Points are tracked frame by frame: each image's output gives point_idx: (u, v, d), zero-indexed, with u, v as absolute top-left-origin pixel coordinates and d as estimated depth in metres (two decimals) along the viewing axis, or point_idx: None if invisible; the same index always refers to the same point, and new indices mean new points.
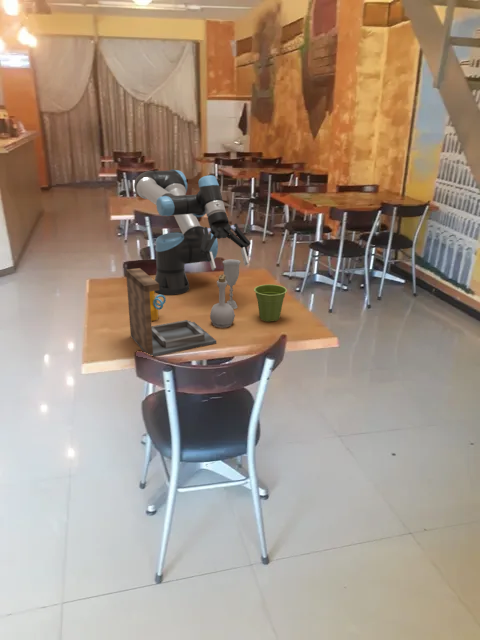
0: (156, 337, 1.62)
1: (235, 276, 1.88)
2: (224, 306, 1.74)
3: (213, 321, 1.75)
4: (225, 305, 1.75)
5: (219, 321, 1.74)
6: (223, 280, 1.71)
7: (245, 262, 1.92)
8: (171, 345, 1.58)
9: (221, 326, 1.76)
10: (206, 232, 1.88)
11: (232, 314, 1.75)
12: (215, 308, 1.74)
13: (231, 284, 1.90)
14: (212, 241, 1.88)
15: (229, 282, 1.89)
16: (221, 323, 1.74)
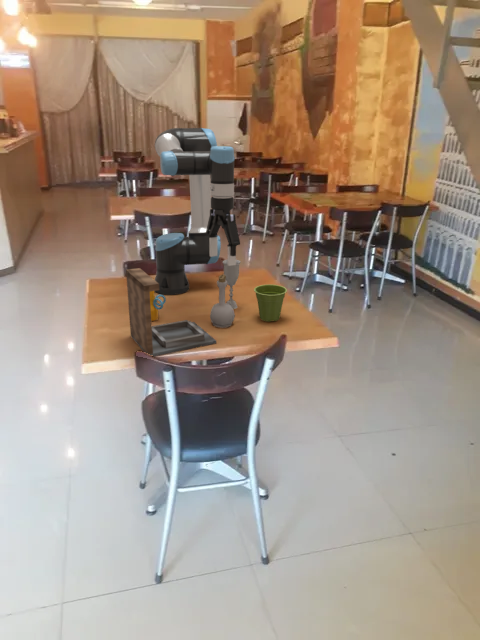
0: (156, 337, 1.62)
1: (235, 276, 1.88)
2: (224, 306, 1.74)
3: (213, 321, 1.75)
4: (225, 305, 1.75)
5: (219, 321, 1.74)
6: (223, 280, 1.71)
7: None
8: (171, 345, 1.58)
9: (221, 326, 1.76)
10: (210, 215, 1.70)
11: (232, 314, 1.75)
12: (215, 308, 1.74)
13: (231, 284, 1.90)
14: (212, 227, 1.70)
15: (229, 282, 1.89)
16: (221, 323, 1.74)
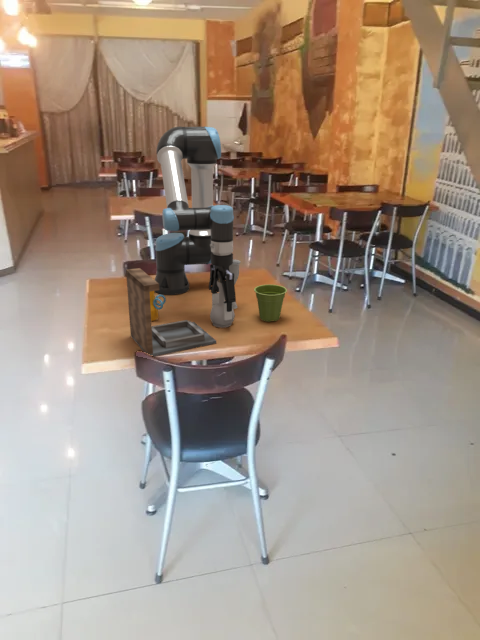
0: (156, 337, 1.62)
1: (235, 276, 1.88)
2: None
3: (213, 321, 1.75)
4: None
5: (219, 321, 1.74)
6: (223, 280, 1.71)
7: None
8: (171, 345, 1.58)
9: (221, 326, 1.76)
10: (211, 270, 1.76)
11: (232, 314, 1.75)
12: (215, 308, 1.74)
13: None
14: (213, 282, 1.76)
15: None
16: (221, 323, 1.74)
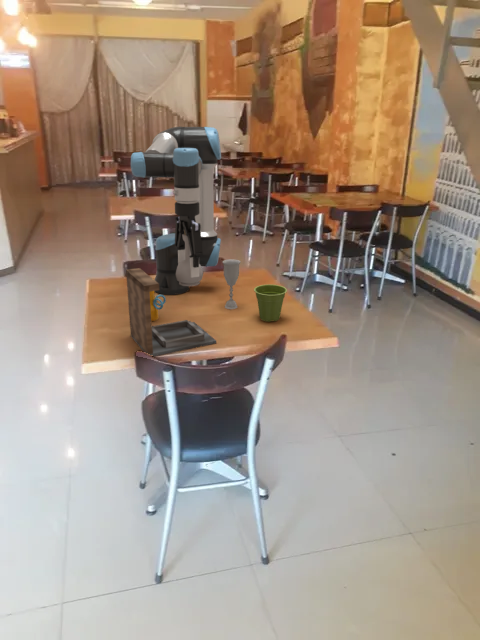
0: (156, 337, 1.62)
1: (235, 276, 1.88)
2: None
3: (179, 279, 1.59)
4: None
5: (185, 279, 1.58)
6: None
7: None
8: (171, 345, 1.58)
9: (188, 285, 1.59)
10: (176, 224, 1.60)
11: (200, 271, 1.59)
12: (181, 264, 1.58)
13: (231, 284, 1.90)
14: (179, 237, 1.60)
15: (229, 282, 1.89)
16: (188, 281, 1.58)
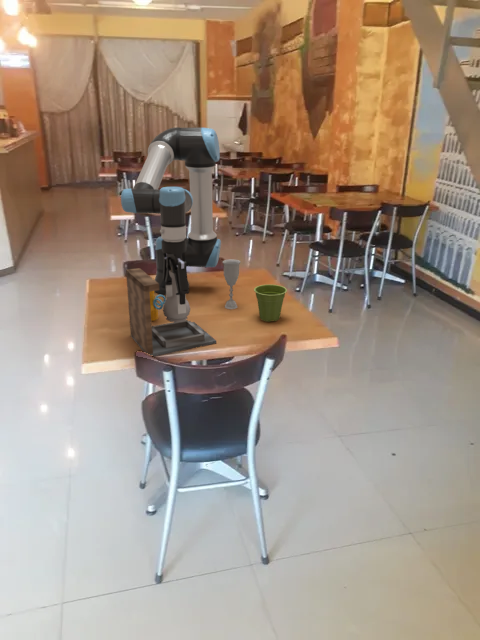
0: (156, 337, 1.62)
1: (235, 276, 1.88)
2: None
3: (166, 315, 1.60)
4: None
5: (172, 315, 1.58)
6: None
7: None
8: (171, 345, 1.58)
9: (175, 320, 1.60)
10: (164, 259, 1.61)
11: (187, 307, 1.60)
12: (168, 300, 1.59)
13: (231, 284, 1.90)
14: (167, 273, 1.60)
15: (229, 282, 1.89)
16: (174, 317, 1.59)
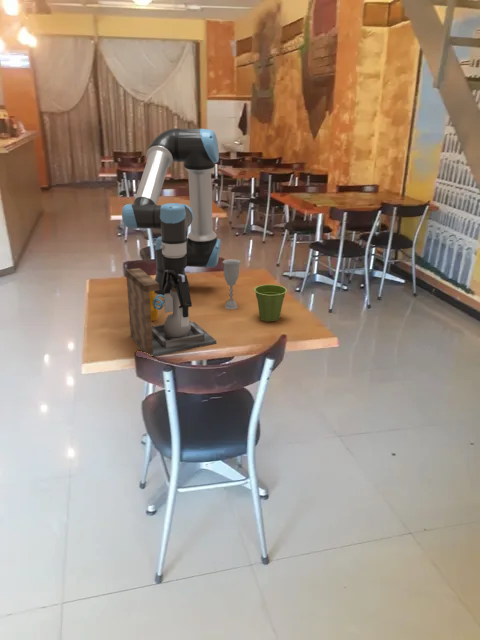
0: (156, 337, 1.62)
1: (235, 276, 1.88)
2: (178, 317, 1.61)
3: (167, 333, 1.63)
4: None
5: (173, 333, 1.61)
6: None
7: None
8: (171, 345, 1.58)
9: (175, 338, 1.63)
10: (164, 271, 1.63)
11: (187, 326, 1.63)
12: (168, 319, 1.61)
13: (231, 284, 1.90)
14: (166, 284, 1.63)
15: (229, 282, 1.89)
16: (175, 335, 1.61)
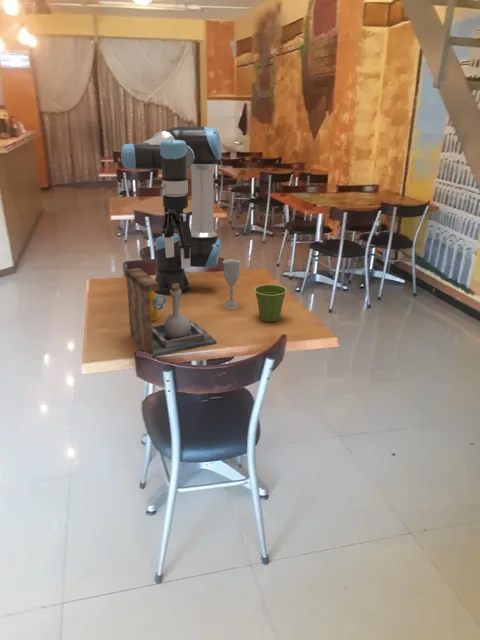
0: (156, 337, 1.62)
1: (235, 276, 1.88)
2: (178, 317, 1.61)
3: (167, 333, 1.63)
4: (179, 316, 1.62)
5: (173, 333, 1.61)
6: (176, 289, 1.59)
7: None
8: (171, 345, 1.58)
9: (175, 338, 1.63)
10: (164, 214, 1.59)
11: (187, 325, 1.63)
12: (168, 319, 1.61)
13: (231, 284, 1.90)
14: (167, 227, 1.59)
15: (229, 282, 1.89)
16: (175, 335, 1.61)
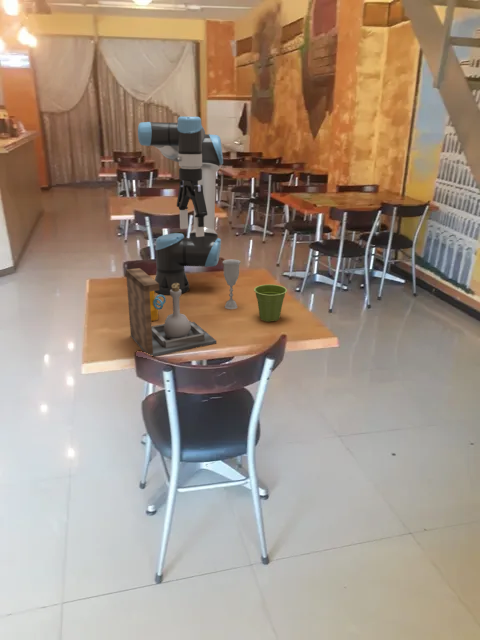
0: (156, 337, 1.62)
1: (235, 276, 1.88)
2: (178, 317, 1.61)
3: (167, 333, 1.63)
4: (179, 316, 1.62)
5: (173, 333, 1.61)
6: (176, 289, 1.59)
7: None
8: (171, 345, 1.58)
9: (175, 338, 1.63)
10: (180, 187, 1.70)
11: (187, 325, 1.63)
12: (168, 319, 1.61)
13: (231, 284, 1.90)
14: (181, 199, 1.71)
15: (229, 282, 1.89)
16: (175, 335, 1.61)
